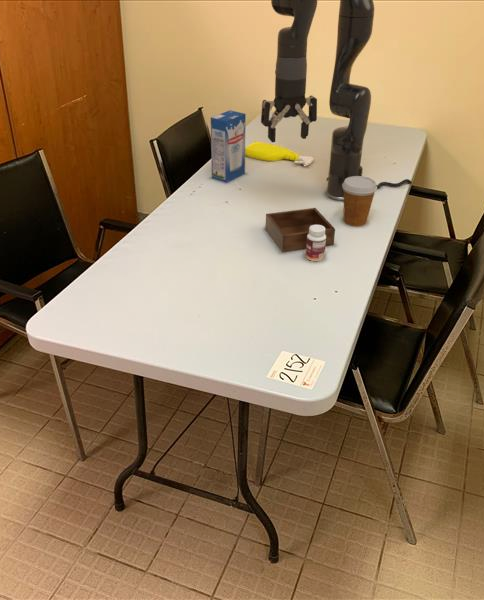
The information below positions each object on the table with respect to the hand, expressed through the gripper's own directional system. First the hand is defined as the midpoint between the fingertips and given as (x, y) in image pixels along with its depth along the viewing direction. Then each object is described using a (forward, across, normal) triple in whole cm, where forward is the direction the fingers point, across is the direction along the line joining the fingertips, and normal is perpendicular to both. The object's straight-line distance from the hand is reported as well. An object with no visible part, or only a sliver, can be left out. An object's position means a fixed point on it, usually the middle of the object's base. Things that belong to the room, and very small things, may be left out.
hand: (288, 139), depth 155 cm
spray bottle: (+26, +17, +50) cm, 58 cm away
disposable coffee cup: (+25, +20, -4) cm, 33 cm away
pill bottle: (+25, +1, -19) cm, 31 cm away
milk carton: (+25, -5, +39) cm, 47 cm away
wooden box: (+25, +1, -8) cm, 26 cm away
